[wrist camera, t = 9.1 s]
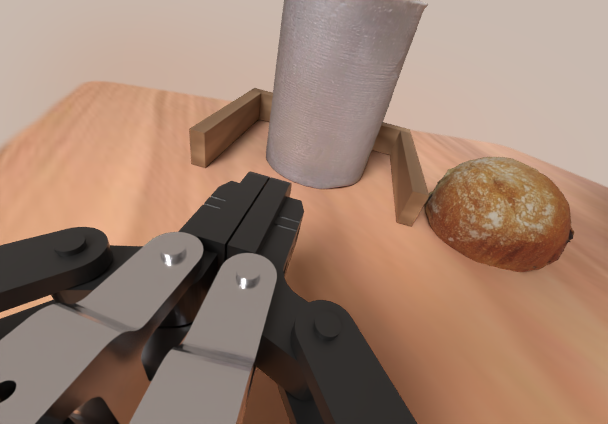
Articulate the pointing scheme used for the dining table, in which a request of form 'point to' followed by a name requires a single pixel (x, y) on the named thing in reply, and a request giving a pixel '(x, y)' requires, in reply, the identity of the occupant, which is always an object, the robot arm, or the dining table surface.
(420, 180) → the brown wooden u-shaped frame
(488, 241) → the bread roll
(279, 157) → the pillar candle
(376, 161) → the dining table surface
